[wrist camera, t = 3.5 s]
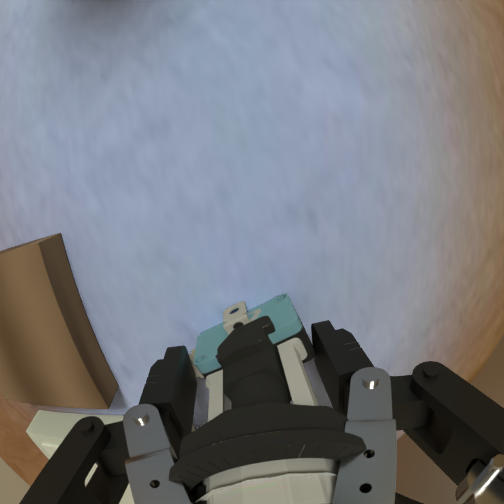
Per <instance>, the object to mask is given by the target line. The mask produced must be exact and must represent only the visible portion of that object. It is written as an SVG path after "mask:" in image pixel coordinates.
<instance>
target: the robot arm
mask: <svg viewBox="0 0 504 504" xmlns="http://www.w3.org/2000/svg"><path fill="white" fill-rule="evenodd" d="M311 330H312V342H313V348H314V350H315V353H316V354H315V356H314V360H315V364H316V367H317V370H318V372H319V374H320V377H321V379H322V382H323V384H324V386H325V389H326V391H327V394H328V396H329V398H330V401H331V403H332V406H333V408H334V410H335V411H337V412H338V413H340V414H341V415H343V416H345V417H346V418H348V419H349V421H346V425H345V432H346V433H350V434H354V435H356V436H359V437H361V438H362V439H363V441H364V443H365V445H366V447H367V449H365V450H362V451H359V452H355V453H352V454H350V455H346V456H342V457H341V460H340V466H339V471H338V477H337V482H336V487H335V492H334V497H333V502H332V504H423V503H420V502H418V501H415V500H413V499H410V498H408V497H405V496H403V495H401V494H398V493H396V492H395V489H396V455H397V454H396V453H397V450H396V447H397V446H396V430H403V431H404V432H405V433H406V434H407V435H408V436H409V437H410V438H411V439H412V440H413V441H414V442H415V443H416V444H417V445H418V446H419V447H420V448H421V449H422V450H423V451H424V452H425V453H426V454H427V455H428V456H429V457H430V458H431V459H432V460H433V461H434V462H435V464H436V465H437V466H439V467H440V469H441V470H442V471H443V472H444V473H445V474H446V475H447V476H448V477H450V479H451V480H452V481H453V482H454V483H455V484H456V485H457V486H458V487H457V489H456V495H455V496H456V500H457V502H458V504H504V408H503V407H501V406H500V405H498V404H497V403H496V402H494V401H493V400H492V399H490V398H489V397H487V396H486V395H485V394H483V393H482V392H481V391H479V390H478V389H476V388H475V387H474V386H472V385H471V384H469V383H468V382H467V381H465V380H464V379H462V378H461V377H460V376H458V375H457V374H455V373H454V372H453V371H451V370H450V369H448V368H447V367H446V366H444V365H443V364H441V363H438V362H433V361H428V362H423V363H421V364H419V365H417V366H416V367H415V368H414V370H413V373H412V375H406V376H389V374H388V373H387V372H386V371H385V370H383V369H381V368H377V367H374V366H373V364H372V363H371V361H370V360H369V358H368V357H367V355H366V354H365V352H364V351H363V349H362V348H361V347H360V345H359V344H358V342H357V341H356V339H355V338H354V336H353V335H352V333H350V332H348V331H346V330H345V329H343V328H342V329H338V330H335V329H334V327H333V326H332V324H331V323H330V321H329V320H327V321H322V322H318V323H313V324H312V325H311ZM196 388H197V381H196V375H195V372H194V369H193V366H192V363H191V360H190V357H189V354H188V351H187V349H186V347H185V346H176V347H168V348H167V350H166V353H165V356H164V359H161V360H157V361H156V362H155V364H154V365H153V366H152V367H151V369H150V372H149V375H148V378H147V381H146V384H145V386H144V389H143V392H142V395H141V399H140V402H139V405H136V406H134V407H132V408H130V409H129V410H128V411H127V412H126V413H125V415H124V417H123V420H122V421H119V422H115V423H111V424H106V425H105V424H104V423H103V421H102V420H101V419H100V418H98V417H96V416H88V417H84V418H82V419H80V420H79V421H78V422H76V424H75V425H74V426H73V427H72V429H71V430H70V432H69V433H68V434H67V436H66V437H65V438H64V440H63V441H62V443H61V444H60V445H59V447H58V448H57V450H56V451H55V452H54V454H53V455H52V457H51V458H50V460H49V461H48V462H47V464H46V465H45V467H44V468H43V470H42V471H41V472H40V474H39V475H38V477H37V478H36V480H35V481H34V483H33V484H32V486H31V487H30V489H29V490H28V492H27V493H26V495H25V496H24V498H23V499H22V501H21V502H20V504H119V503H120V501H121V499H122V497H123V495H124V493H125V490H126V488H127V486H128V484H130V488H131V492H132V496H133V500H134V503H135V504H207V500H200V501H198V502H197V503H195V502H196V501H197V500H198V499H200V498H201V497H203V496H204V495H206V486H197V494H196V495H193V496H191V495H190V493H189V491H188V489H187V488H186V487H185V485H184V484H183V483H182V481H181V480H169V472H170V468H171V467H172V466H173V465H174V464H175V463H176V462H177V461H178V456H179V451H180V446H181V442H182V439H183V438H184V437H185V436H187V435H189V434H190V433H192V423H193V414H194V405H195V397H196ZM95 463H96V465H97V468H96V470H95V472H94V473H93V475H92V477H91V478H90V480H89V482H88V484H87V485H86V486H85V480H86V477H87V476H88V474H89V472H90V471H91V469H92V467H93V465H94V464H95Z"/></svg>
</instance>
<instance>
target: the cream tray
mask: <svg viewBox="0 0 504 504" xmlns="http://www.w3.org/2000/svg"><path fill="white" fill-rule="evenodd" d="M88 416H96V417H98V418H100V419H101V420H102V421H103V423H104V424H105V425H106V424H111V423H115V422H119V421H122V420H123V417H124V415H91V414H75V413H63V412H53V411H45V410H38V412H37V414H36V415H35V417H34V418H33V420H32V422H31V423H30V425H29V427H28V428H27V430H26V432H27V434H28V435H29V436H30V437H31V439H32V440H33V441H34V442H35V444H36V445H37V446H38V447H39V448H40V450H41V451H42V452H43V453H44V454H45V455H46V456H47V458H48V459H49V460H50V458H51V457H52V455H53V454H54V452H55V451H56V450H57V448H58V447H59V445H60V444H61V443H62V441H63V440H64V438H65V437H66V436H67V434H68V433H69V432H70V430H71V429H72V427H73V426H74V425H75V424H76V422H78V421H79V420H80V419H82V418H84V417H88ZM193 431H195V428H194V425H193V423H192V432H193ZM96 468H97V465H96V463H95V464H94V465H93V467H92V469H91V471H90V472H89V474H88V476H87V477H86V480H85V486H86V485H87V484H88V482H89V480H90V478H91V477H92V475H93V473H94V472H95V470H96ZM119 504H135V503H134V500H133V496H132V492H131V488H130V484H128V486H127V488H126V490H125V493H124V495H123V497H122V499H121V501H120V503H119Z"/></svg>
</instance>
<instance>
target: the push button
mask: <svg viewBox="0 0 504 504" xmlns="http://www.w3.org/2000/svg"><path fill="white" fill-rule="evenodd" d="M237 308H239V310H238V311H237V312H235V313H233V314H230V313H231V311H233V310H234V309H237ZM191 352H192V353H190V354H189V357H190V360H191V363H192V366H193V369H194V372H195V375H196V378H197V377H199V376H200V377H201V378H205V379H206V383H205V384H206V387H207V388H208V389H209V409H208V422H207V423H206V424H204V425H203V426H201V427H200V428H198V429H197V430H195V431H193V432H192V433H190V434H189V435H187V436H185V437H184V438H183V439H182V442H181V446H180V451H179V456H178V461H177V462H176V463H175V464H174V465H173V466H172V467H171V468H170V472H169V480H181V481H182V483H183V484H184V485H185V487H186V488H187V489H188V491H189V493H190V495H191V496H193V495H196V494H197V486H206V495H204V496H203V497H201V498H200V499H198V500H197V501H196V502H195V503H197V502H198V501H200V500H207V504H332V502H333V497H334V492H335V487H336V482H337V477H338V471H339V466H340V460H341V457H342V456H346V455H350V454H352V453H355V452H359V451H362V450H365V449H367V447H366V445H365V443H364V441H363V439H362V438H361V437H359V436H356V435H354V434H350V433H346V432H345V425H346V421H349V419H348V418H346V417H345V416H343V415H341V414H340V413H338V412H337V411H335V410H334V409H332V408H330V407H327V406H319V404H318V402H317V399H316V396H315V394H314V391H313V388H312V386H311V383H310V380H309V378H308V375H307V372H306V370H305V367H304V364H303V363H305V362H307V361H309V360H311V359H312V358H313V357H314V356H315V354H316V353H315V350H314V348H313V346H312V343H311V341H310V339H309V337H308V335H307V333H306V331H305V328H304V326H303V324H302V322H301V320H300V318H299V316H298V314H297V312H296V310H295V308H294V306H293V304H292V302H291V300H290V298H289V296H288V294H281V295H279V296H277V297H275V298H273V299H272V300H270V301H268V302H266V303H264V304H262V305H260V306H258V307H256V308H253V309H251V310H249V311H247V310H246V303H245V302H239V303H237V304H235V305H233V306H231V307H229V308H227V309H226V310H225V311H224V312H223V323H222V324H219V325H217V326H215V327H213V328H211V329H208V330H206V331H204V332H202V333H201V334H200V335H199V336H198V338H197V345H196V348H195V349H193V350H191ZM291 400H292V401H293V404H290V401H291Z"/></svg>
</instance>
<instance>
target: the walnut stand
mask: <svg viewBox="0 0 504 504" xmlns="http://www.w3.org/2000/svg"><path fill="white" fill-rule="evenodd" d="M117 388H118V384H117V382H116V380H115V378H114V376H113V374H112V372H111V370H110V368H109V366H108V364H107V362H106V360H105V357H104V355H103V353H102V351H101V349H100V346H99V344H98V342H97V339H96V337H95V335H94V332H93V330H92V327H91V325H90V323H89V320H88V317H87V315H86V312H85V310H84V307H83V304H82V301H81V299H80V296H79V293H78V290H77V287H76V284H75V281H74V278H73V275H72V272H71V269H70V265H69V262H68V259H67V255H66V252H65V248H64V244H63V240H62V237H61V233H59V234H55V235H52V236H48V237H45V238H41V239H38V240H35V241H31V242H28V243H25V244H22V245H18V246H15V247H12V248H9V249H6V250H3V251H0V392H1V393H2V395H3V396H4V398H5V400H10V401H17V402H23V403H31V404H39V405H48V406H58V407H71V408H89V409H109V407H110V405H111V403H112V400H113V398H114V395H115V393H116V391H117Z"/></svg>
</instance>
